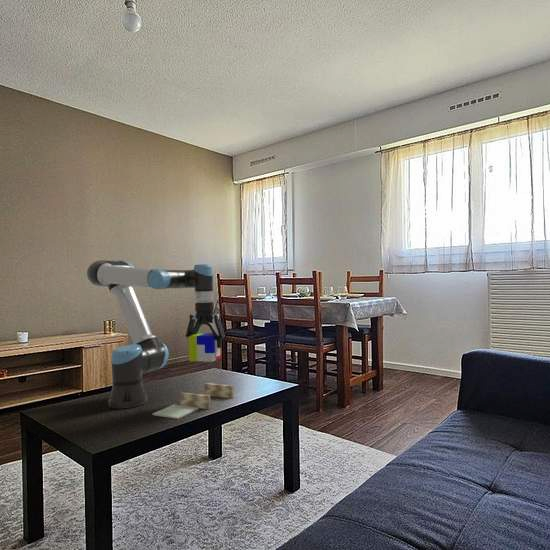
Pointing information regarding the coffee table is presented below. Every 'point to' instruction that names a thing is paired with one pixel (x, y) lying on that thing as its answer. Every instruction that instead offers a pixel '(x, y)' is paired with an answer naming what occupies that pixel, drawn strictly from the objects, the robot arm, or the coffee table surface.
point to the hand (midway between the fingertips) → (205, 355)
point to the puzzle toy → (202, 347)
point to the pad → (175, 411)
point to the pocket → (206, 396)
